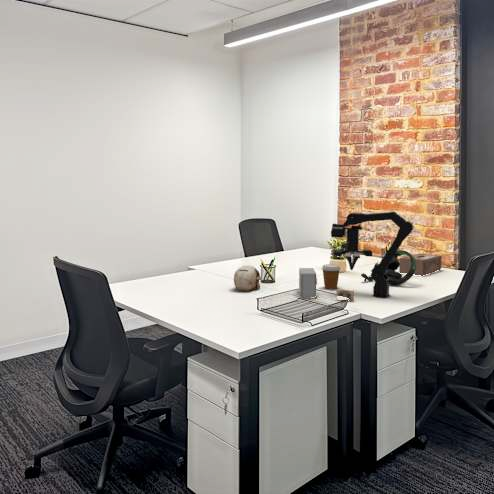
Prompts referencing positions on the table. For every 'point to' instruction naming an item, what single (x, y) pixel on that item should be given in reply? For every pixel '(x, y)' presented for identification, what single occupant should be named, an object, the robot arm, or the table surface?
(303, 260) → the table surface
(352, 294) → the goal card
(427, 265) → the tissue box cover
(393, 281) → the headset
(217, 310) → the table surface
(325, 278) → the disposable coffee cup
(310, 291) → the block
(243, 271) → the coin bank
